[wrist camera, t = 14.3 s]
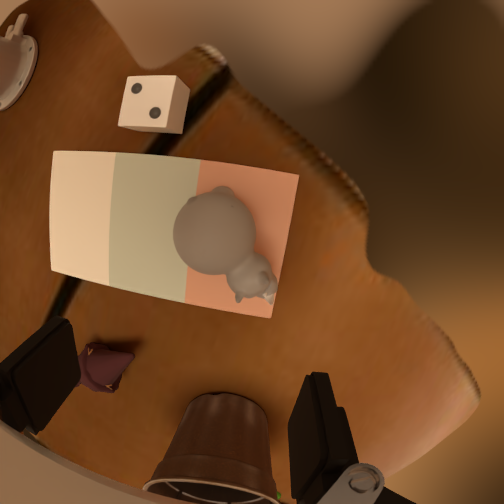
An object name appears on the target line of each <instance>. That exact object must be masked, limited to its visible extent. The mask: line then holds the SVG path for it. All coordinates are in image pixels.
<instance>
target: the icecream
mask: <svg viewBox="0 0 504 504" xmlns="http://www.w3.org/2000/svg"><path fill="white" fill-rule="evenodd" d="M134 358H135V355H134V354H133V353H126V352H117V351H110V350H109V348H108V347H107V346H106V345H103V344H96V343H94V342H91V343H90V344H86V346H85V348H84V350H83V351H82V353H81V354H80V355H79V356H78V361H79V365H80V370H81V379H80V381H79V382H78V383H77V385H76V386H75V387H78V386H79V385H80V384H81V383H82V384H83V385H85V386H86V387H88V388H90V389H92V390H93V391H95V392H97V391H100V392H108V393H114V392H115V390H117V389H118V387H119V383H120V380H121V378H122V372H123V371H124V370H125V368H126V367H127V366H128V365H129V364H130V363H131V361H132V360H133V359H134Z"/></svg>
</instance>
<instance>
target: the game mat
mask: <svg viewBox="0 0 504 504" xmlns="http://www.w3.org/2000/svg"><path fill="white" fill-rule="evenodd" d="M298 178H299V175H296V174H291V173H285V172H280V171H274V170H268V169H262V168H256V167H250V166H243V165H237V164H230V163H223V162H215V161H207V160H199V159H190V158H181V157H171V156H160V155H148V154H134V153H118V152H94V151H54V152H53V161H52V172H51V187H50V254H51V269H52V270H53V271H56V272H59V273H63V274H67V275H70V276H74V277H77V278H81V279H85V280H88V281H92V282H96V283H100V284H104V285H108V286H112V287H116V288H120V289H124V290H128V291H132V292H137V293H141V294H145V295H150V296H154V297H159V298H163V299H168V300H173V301H178V302H182V303H187V304H192V305H197V306H202V307H208V308H213V309H218V310H224V311H229V312H235V313H241V314H247V315H253V316H259V317H265V318H271V315H272V310H273V306H274V303H273V305H270V304H269V303H268V302H267V301H266V300H265V299H262V298H259V297H257V296H255V297H253V298H245V297H243V299H242V300H241V302H240V303H236V300H235V293H234V292H233V291H232V290H231V288H230V287H229V285H228V283H227V279H226V275H225V274H221V275H207V274H203V273H200V272H197V271H195V270H193V269H192V268H190V267H189V266H188V265H187V264H186V263H185V262H184V261H183V260H182V259H181V258H180V256H179V254H178V253H177V250H176V248H175V245H174V240H173V227H174V222H175V219H176V217H177V215H178V213H179V211H180V210H181V208H182V207H183V206H184V205H185V204H186V203H187V201H188V199H189V198H191V197H195V196H197V195H200V194H203V193H207V192H211V191H212V190H213V189H214V188H216V187H218V186H226V187H228V188H230V189H231V190H232V191H233V192H234V195H235V197H236V198H237V199H239V200H240V201H241V202H243V203H244V204H245V205H246V207H247V208H248V209H249V211H250V212H251V214H252V216H253V219H254V222H255V226H256V240H255V244H254V251H255V252H256V253H259V254H261V255H263V256H264V257H266V258H267V259H268V261H269V262H270V264H271V268H272V273H273V274H274V275H275V276H276V278H277V281H278V282H279V277H280V273H281V268H282V263H283V258H284V253H285V248H286V243H287V238H288V232H289V227H290V222H291V217H292V211H293V206H294V201H295V195H296V190H297V184H298ZM275 296H276V293H275V294H274V301H275Z"/></svg>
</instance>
